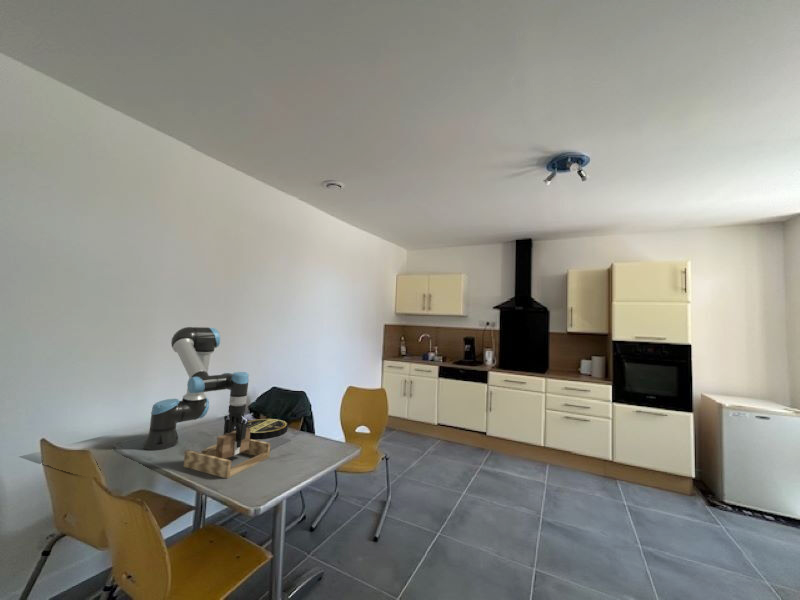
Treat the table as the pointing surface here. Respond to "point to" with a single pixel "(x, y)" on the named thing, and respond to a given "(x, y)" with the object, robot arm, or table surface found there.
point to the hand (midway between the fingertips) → (232, 452)
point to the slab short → (210, 450)
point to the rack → (223, 465)
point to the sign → (267, 428)
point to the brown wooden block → (231, 444)
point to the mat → (277, 442)
